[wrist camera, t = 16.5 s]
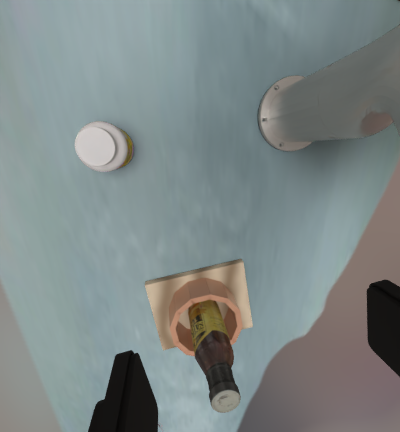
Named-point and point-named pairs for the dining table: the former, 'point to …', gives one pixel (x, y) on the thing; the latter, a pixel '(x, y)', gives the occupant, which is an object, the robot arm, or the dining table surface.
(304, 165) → the dining table surface
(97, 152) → the supplement bottle
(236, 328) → the jar collar
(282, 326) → the dining table surface
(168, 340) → the birch board
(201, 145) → the dining table surface
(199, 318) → the sauce bottle
